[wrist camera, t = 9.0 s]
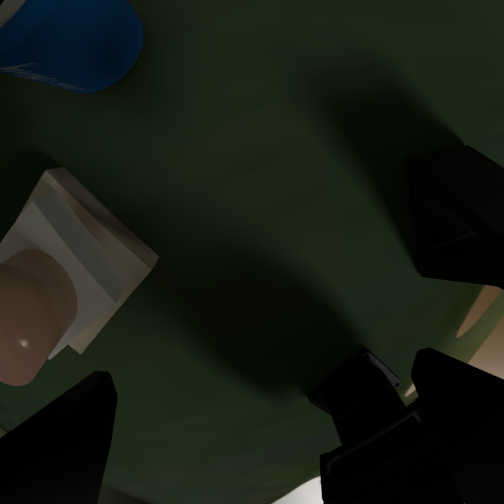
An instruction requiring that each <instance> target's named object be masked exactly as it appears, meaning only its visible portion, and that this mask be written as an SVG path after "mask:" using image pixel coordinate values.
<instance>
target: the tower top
mask: <svg viewBox="0 0 504 504" xmlns="http://www.w3.org/2000/svg"><path fill="white" fill-rule="evenodd" d="M26 249H35V250H39V251H42V252H44V253H46V254H48V255H50V256H51V257H53V258H54V259H55V260H56V261H57V262H58V263H59V264H60V265H61V266H62V267H63V268H64V269H65V271H66V272H67V274H68V275H69V277H70V279H71V281H72V283H73V285H74V288H75V291H76V296H77V303H78V307H77V315H76V318H75V320H74V322H73V324H72V325H71V326H70V328H69V329H68V330H67V332H66V333H65V334H64V336H63V337H62V338H61V340H60V341H59V343H58V344H57V345H56V347H55V348H54V349H53V351H52V352H51V354H50V355H49V356H48V359H49V360H50V359H51V358H52V357H54V356H55V355H56V354H57V353H58V352H59V351H60V350H62V349H63V348H64V347H65V346H66V345H67V344H69V343H70V342H71V341H72V340H73V339H74V338H75V337H77V336H78V335H79V334H80V333H81V332H83V331H84V330H85V329H86V328H87V327H88V326H90V325H91V324H92V323H93V322H94V321H96V320H97V319H98V318H99V317H100V316H101V315H103V314H104V313H105V312H106V311H107V310H109V309H110V308H111V307H112V306H114V305H115V304H116V303H117V301H118V300H119V298H120V296H121V295H122V293H123V292H124V290H125V289H126V287H127V286H128V284H129V283H130V281H131V280H130V279H129V278H128V277H127V276H126V275H125V274H124V273H123V271H122V270H121V269H120V268H119V267H118V266H117V264H116V263H115V262H114V261H113V260H112V259H111V257H110V256H109V255H108V254H107V253H106V251H105V250H104V249H103V248H102V247H101V245H100V244H99V243H98V242H97V240H96V239H95V238H94V237H93V236H92V234H91V233H90V232H89V231H88V229H87V228H86V227H85V226H84V224H83V223H82V222H81V220H80V219H79V218H78V217H77V215H76V214H75V213H74V211H73V210H72V209H71V207H70V206H69V205H68V203H67V202H66V201H65V199H64V198H63V197H62V195H61V194H60V193H59V191H58V192H55V193H52V194H49V195H46V196H43V197H40V198H37V199H34V200H32V201H31V203H30V204H29V205H28V206H27V208H26V209H25V210H24V211H23V213H22V214H21V215H20V217H19V218H18V219H17V221H16V222H15V223H14V225H13V226H12V227H11V229H10V230H9V231H8V233H7V234H6V236H5V237H4V238H3V240H2V241H1V243H0V263H2V262H3V261H5V260H6V259H8V258H10V257H11V256H13V255H15V254H16V253H18V252H20V251H22V250H26Z"/></svg>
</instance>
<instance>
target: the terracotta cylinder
mask: <svg viewBox="0 0 504 504" xmlns="http://www.w3.org/2000/svg"><path fill="white" fill-rule="evenodd" d="M77 307H78V303H77V296H76V291H75V288H74V285H73V283H72V281H71V279H70V277H69V275H68V274H67V272H66V271H65V269H64V268H63V267H62V266H61V265H60V264H59V263H58V262H57V261H56V260H55V259H54V258H53V257H51V256H50V255H48V254H46V253H44V252H42V251H39V250H35V249H26V250H22V251H20V252H18V253H16V254H15V255H13V256H11V257H10V258H8V259H6V260H5V261H3V262H2V263H0V381H1V382H3V383H5V384H8V385H12V386H23V385H26V384H28V383H30V382H31V381H32V380H33V378H34V377H35V375H36V374H37V372H38V371H39V369H40V368H41V366H42V365H43V364H44V362H45V361H46V359H47V358H48V356H49V355H50V354H51V352H52V351H53V349H54V348H55V347H56V345H57V344H58V343H59V341H60V340H61V338H62V337H63V336H64V334H65V333H66V332H67V330H68V329H69V328H70V326H71V325H72V324H73V322H74V320H75V318H76V315H77Z"/></svg>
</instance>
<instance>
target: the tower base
mask: <svg viewBox="0 0 504 504" xmlns="http://www.w3.org/2000/svg"><path fill="white" fill-rule="evenodd" d="M58 191H59V193H60V194H61V195H62V197H63V198H64V199H65V201H66V202H67V203H68V205H69V206H70V207H71V209H72V210H73V211H74V213H75V214H76V215H77V217H78V218H79V219H80V220H81V222H82V223H83V224H84V226H85V227H86V228H87V229H88V231H89V232H90V233H91V234H92V236H93V237H94V238H95V239H96V240H97V242H98V243H99V244H100V245H101V247H102V248H103V249H104V250H105V251H106V253H107V254H108V255H109V256H110V257H111V259H112V260H113V261H114V262H115V263H116V264H117V266H118V267H119V268H120V269H121V270H122V271H123V273H124V274H125V275H126V276H127V277H128V278H129V279H130V280H131V281H130V283H129V284H128V286H127V287H126V289H125V290H124V292H123V293H122V295H121V296H120V298H119V300H118V301H117V303H116V304H115V305H114V306H112V307H111V308H110V309H109V310H107V311H106V312H105V313H104V314H103V315H101V316H100V317H99V318H98V319H97V320H96V321H94V322H93V323H92V324H91V325H90V326H88V327H87V328H86V329H85V330H84V331H83V332H81V333H80V334H79V335H78V336H77V337H75V338H74V339H73V340H72V341H71V342H70V343H69V344H68V345H70V346H71V347H72V348H73V349H74V350H76V351H77V352H78V353H79V354H82V352H83V351H84V350H85V349H86V347H87V346H88V345H89V344H90V342H91V341H92V340H93V339H94V337H95V336H96V335H97V334H98V333H99V331H100V330H101V329H102V328H103V326H104V325H105V324H106V323H107V322H108V320H109V319H110V318H111V317H112V316H113V314H114V313H115V312H116V311H117V310H118V309H119V307H120V306H121V305H122V304H123V303H124V301H125V300H126V299H127V298H128V297H129V296H130V294H131V293H132V292H133V291H134V290H135V289H136V287H137V286H138V285H139V284H140V283H141V282H142V281H143V279H144V278H145V277H146V276H147V275H148V274H149V273H150V272H151V270H152V269H153V267H154V265H155V264H156V262H157V260H158V258H159V257H160V256H159V255H157V254H156V253H155V252H154V251H153V250H152V249H151V248H149V247H148V246H147V245H146V244H145V243H144V242H143V241H142V240H141V239H139V238H138V237H137V236H136V235H135V234H134V233H133V232H132V231H131V230H129V229H128V228H127V227H126V226H125V225H124V224H123V223H122V222H121V221H120V220H119V219H118V218H116V217H115V216H114V215H113V214H112V213H111V212H110V211H109V210H108V209H107V208H106V207H105V206H104V205H103V204H102V203H100V202H99V201H98V200H97V199H96V198H95V197H94V196H93V195H92V194H91V193H90V192H89V191H88V190H87V189H86V188H85V187H84V186H83V185H82V184H81V183H80V182H79V181H78V180H77V179H76V178H75V177H74V176H73V175H72V174H71V173H70V172H69V171H67V170H66V169H65V168H64V167H59V168H54V169H48V170H45V172H44V174H43V175H42V177H41V178H40V180H39V182H38V183H37V185H36V187H35V188H34V190H33V192H32V193H31V195H30V197H29V199H28V200H27V202H26V204H25V206H24V207H23V209H22V211H21V213H20V215H21V214H22V213H23V211H24V210H25V209H26V208H27V206H28V205H29V204H30V203H31V201H32V200H34V199H37V198H40V197H43V196H46V195H49V194H52V193H55V192H58ZM20 215H19V217H20ZM19 217H18V218H19ZM18 218H17V219H18ZM16 221H17V220H16Z"/></svg>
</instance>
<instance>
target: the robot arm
mask: <svg viewBox="0 0 504 504" xmlns="http://www.w3.org/2000/svg"><path fill="white" fill-rule="evenodd" d="M365 355H367V356H365ZM364 356H365V357H364ZM411 377H412V380H413V383H414V385H415V388H416V391H417V393H418V396H419V397H418V398H416V400H415V401H414V402H412V403H411V404H410V405H408V406H407V407H406V405H405V404H404V402H403V401H402V399H401V397H400V396H399V394H398V393H397V391H396V390H397V389H398V388H399V387H400V386H401V384H402V382H401V380H400V379H399V378H398V377H397V376H396V375H395V374H394V373H393V372H392V371H391V370H390V369H388V368H387V367H386V366H385V365H384V364H383V363H382V362H381V361H380V360H379V359H378V358H377V357H375V356H374V355H373V354H372V353H371V352H370V351H369V350H363V351H361V352H360V353H359V354H358V355H357V356H356V357H354V358H353V359H352V360H351V361H350V362H349V363H347V364H346V365H345V366H344V367H343V368H341V369H340V370H339V371H338V372H337V373H335V374H334V375H333V376H332V377H330V378H329V379H328V380H327V381H325V382H324V383H323V384H322V385H320V386H319V387H318V388H317V389H315V390H314V391H313V392H311V393H310V394H309V395H308V399H309V402H310V403H312V404H314V405H315V406H317V407H318V408H320V409H322V410H323V411H325V412H326V413H328V414H330V415H331V416H332V419H333V422H334V424H335V427H336V430H337V433H338V435H339V438H340V441H341V444H342V446H340V447H338V448H336V449H334V450H332V451H330V452H328V453H327V452H326V453H324V454H322V455H320V474H321V490H322V500H323V502H324V503H323V504H504V379H501V378H499V377H496V376H494V375H492V374H490V373H487V372H485V371H483V370H480V369H478V368H476V367H473V366H471V365H469V364H467V363H464V362H462V361H460V360H457V359H455V358H453V357H450V356H448V355H446V354H444V353H441V352H439V351H437V350H434V349H432V348H425V349H420V350H419V351H418V352H417V354H416V357H415V360H414V364H413V367H412V371H411ZM396 383H397V384H396ZM314 397H315V398H314ZM116 405H117V392H116V389H115V386H114V383H113V380H112V377H111V374H110V373H109V372H108V371H99V370H97V371H94V372H93V373H91V374H90V375H88V376H87V377H86V378H84V379H83V380H81V381H80V382H79V383H77V384H76V385H74V386H73V387H72V388H70V389H69V390H67V391H66V392H65V393H63V394H62V395H60V396H59V397H58V398H56V399H55V400H53V401H52V402H51V403H49V404H48V405H46V406H45V407H44V408H42V409H41V410H39V411H38V412H36V413H35V414H34V415H32V416H31V417H29V418H28V419H27V420H25V421H24V422H22V423H21V424H20V425H18V426H17V427H15V428H14V431H13V430H11V431H10V432H8V433H7V434H5V435H4V436H3V437H1V438H0V504H97V502H98V498H99V492H100V488H101V484H102V479H103V475H104V471H105V467H106V462H107V458H108V454H109V450H110V446H111V440H112V434H113V426H114V419H115V412H116Z"/></svg>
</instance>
